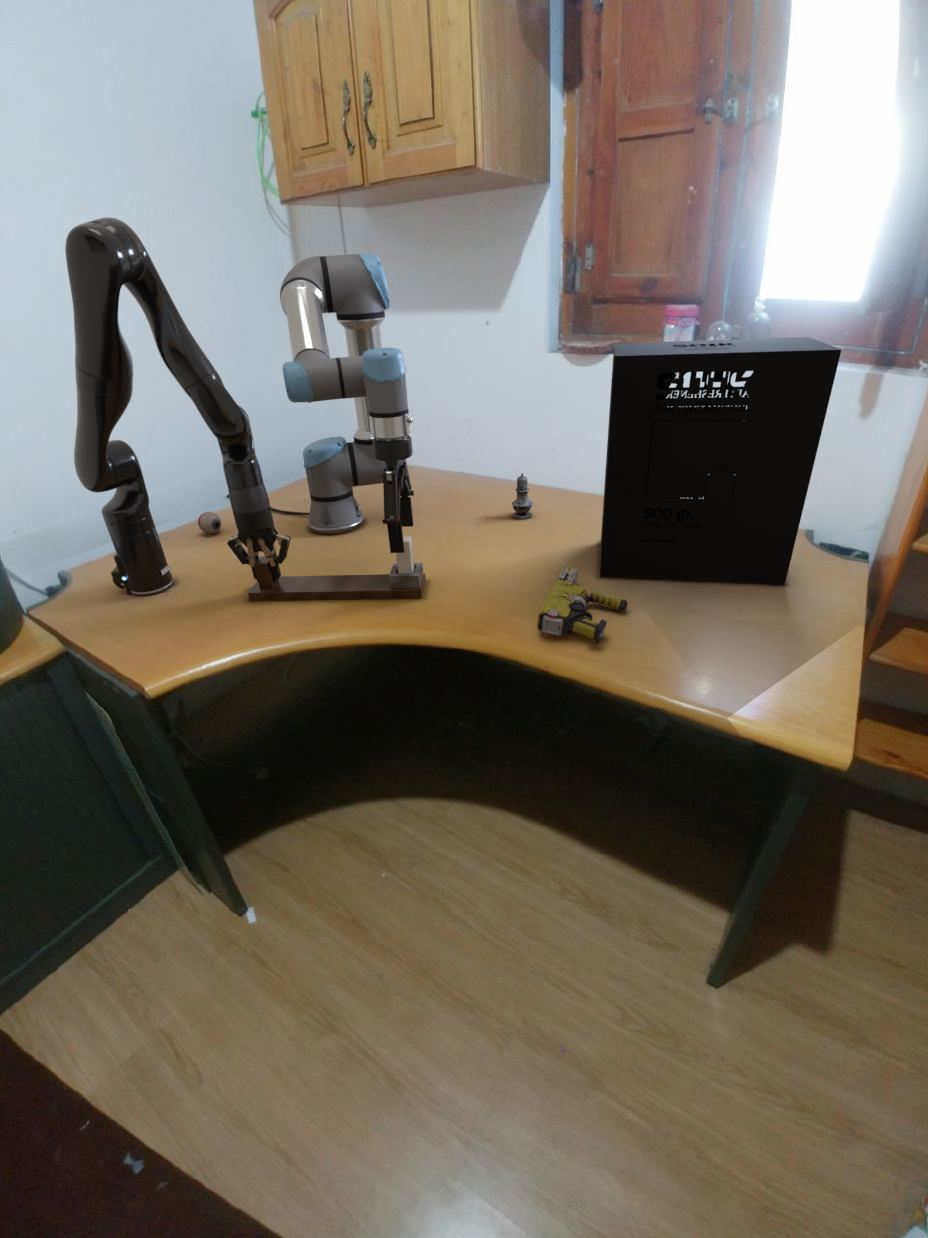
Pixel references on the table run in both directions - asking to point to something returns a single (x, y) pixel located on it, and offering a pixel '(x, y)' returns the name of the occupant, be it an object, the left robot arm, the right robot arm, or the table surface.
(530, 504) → the salt shaker
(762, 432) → the cardboard box
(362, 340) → the right robot arm
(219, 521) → the eyeball
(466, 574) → the table surface
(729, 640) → the table surface
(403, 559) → the peg
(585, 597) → the toy gun
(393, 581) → the peg board
